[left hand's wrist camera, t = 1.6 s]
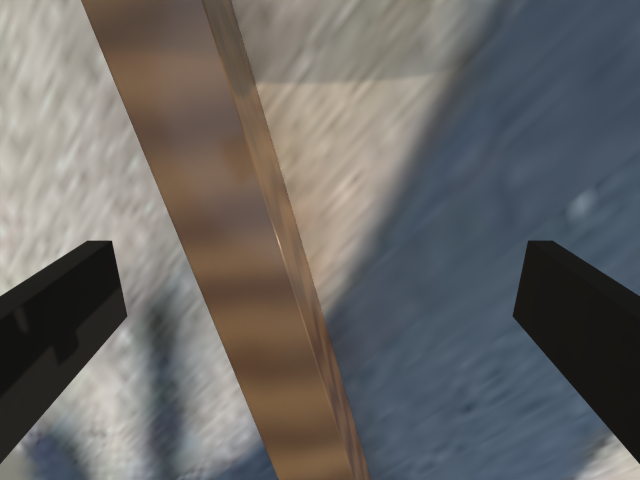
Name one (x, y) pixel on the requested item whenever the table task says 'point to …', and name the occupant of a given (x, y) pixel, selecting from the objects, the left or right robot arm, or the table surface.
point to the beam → (233, 221)
